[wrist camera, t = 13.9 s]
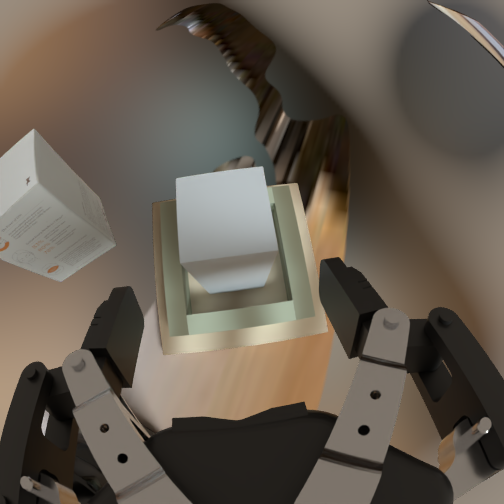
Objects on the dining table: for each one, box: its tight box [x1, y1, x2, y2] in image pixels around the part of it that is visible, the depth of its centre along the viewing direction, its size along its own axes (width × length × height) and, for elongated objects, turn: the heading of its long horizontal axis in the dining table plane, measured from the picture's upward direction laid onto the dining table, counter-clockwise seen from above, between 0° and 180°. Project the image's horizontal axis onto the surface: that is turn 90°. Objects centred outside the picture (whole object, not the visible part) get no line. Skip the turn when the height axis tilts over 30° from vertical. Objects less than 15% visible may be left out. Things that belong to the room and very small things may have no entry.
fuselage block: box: [176, 167, 278, 294], centre depth 18 cm, size 4×4×11 cm
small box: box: [0, 129, 116, 282], centre depth 19 cm, size 8×6×13 cm
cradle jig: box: [152, 183, 328, 355], centre depth 23 cm, size 14×14×4 cm
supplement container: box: [73, 425, 155, 504], centre depth 13 cm, size 10×10×12 cm
